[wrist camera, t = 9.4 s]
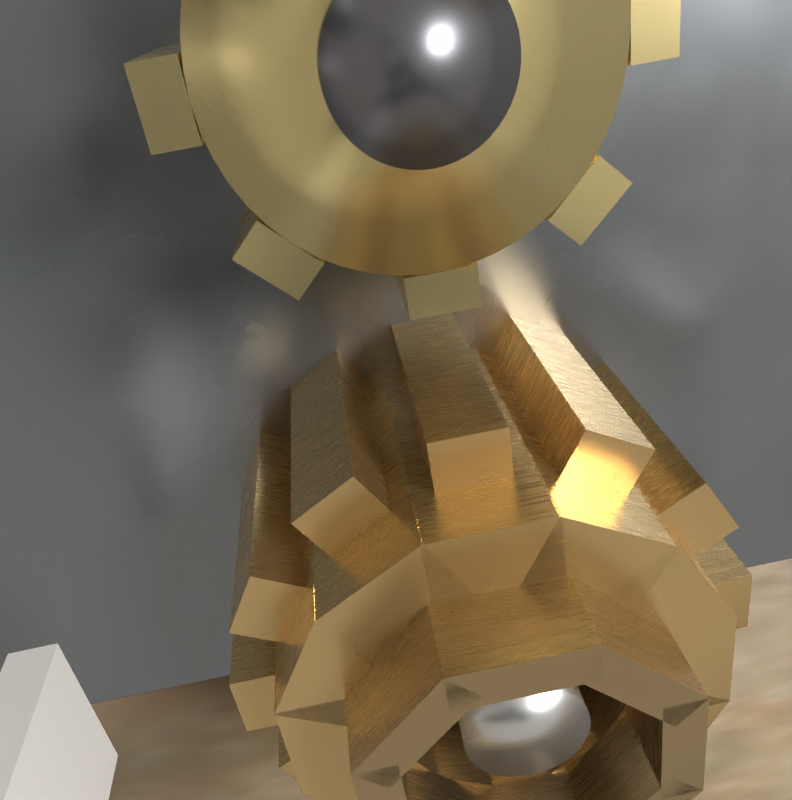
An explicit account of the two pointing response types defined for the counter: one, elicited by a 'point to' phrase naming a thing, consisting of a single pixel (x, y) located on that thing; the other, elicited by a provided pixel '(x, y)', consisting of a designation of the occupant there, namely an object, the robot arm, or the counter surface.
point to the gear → (480, 574)
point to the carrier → (362, 272)
